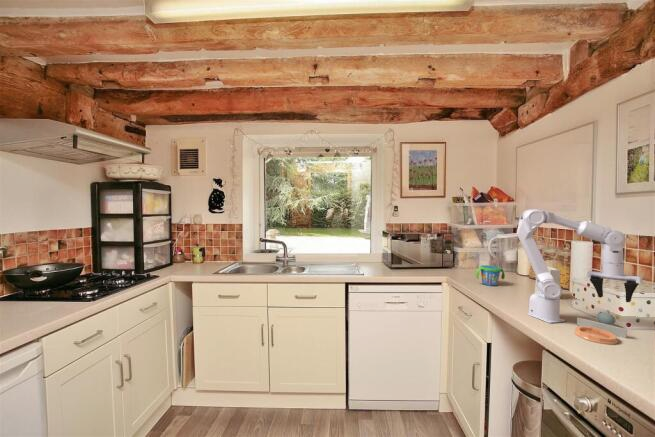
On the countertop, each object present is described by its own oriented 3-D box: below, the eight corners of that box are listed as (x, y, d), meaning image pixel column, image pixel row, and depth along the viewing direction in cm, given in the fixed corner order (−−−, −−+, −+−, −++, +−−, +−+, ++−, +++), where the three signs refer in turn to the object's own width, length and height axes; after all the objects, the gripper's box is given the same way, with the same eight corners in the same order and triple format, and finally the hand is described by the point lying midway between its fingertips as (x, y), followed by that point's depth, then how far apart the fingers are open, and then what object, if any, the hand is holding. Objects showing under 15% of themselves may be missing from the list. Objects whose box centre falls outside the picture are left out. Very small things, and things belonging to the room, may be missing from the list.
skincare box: (534, 294, 148) (535, 265, 147) (545, 294, 149) (546, 265, 148) (548, 300, 140) (549, 269, 139) (559, 299, 140) (561, 269, 140)
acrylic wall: (576, 325, 109) (577, 318, 109) (577, 324, 110) (578, 317, 110) (626, 338, 99) (626, 330, 99) (626, 337, 100) (627, 329, 100)
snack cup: (499, 282, 171) (500, 265, 171) (509, 287, 161) (509, 269, 161) (472, 281, 173) (472, 264, 172) (479, 286, 162) (480, 268, 162)
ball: (593, 323, 111) (593, 310, 111) (602, 322, 113) (603, 309, 112) (608, 329, 106) (609, 315, 106) (618, 327, 108) (619, 314, 107)
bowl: (566, 331, 104) (566, 327, 104) (588, 328, 106) (588, 324, 106) (602, 346, 93) (602, 341, 93) (626, 342, 96) (626, 337, 96)
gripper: (644, 263, 102) (646, 301, 103) (592, 259, 115) (593, 293, 115) (637, 266, 99) (638, 305, 99) (584, 261, 112) (585, 296, 112)
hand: (614, 299), depth 107 cm, fingers open, 7 cm apart
